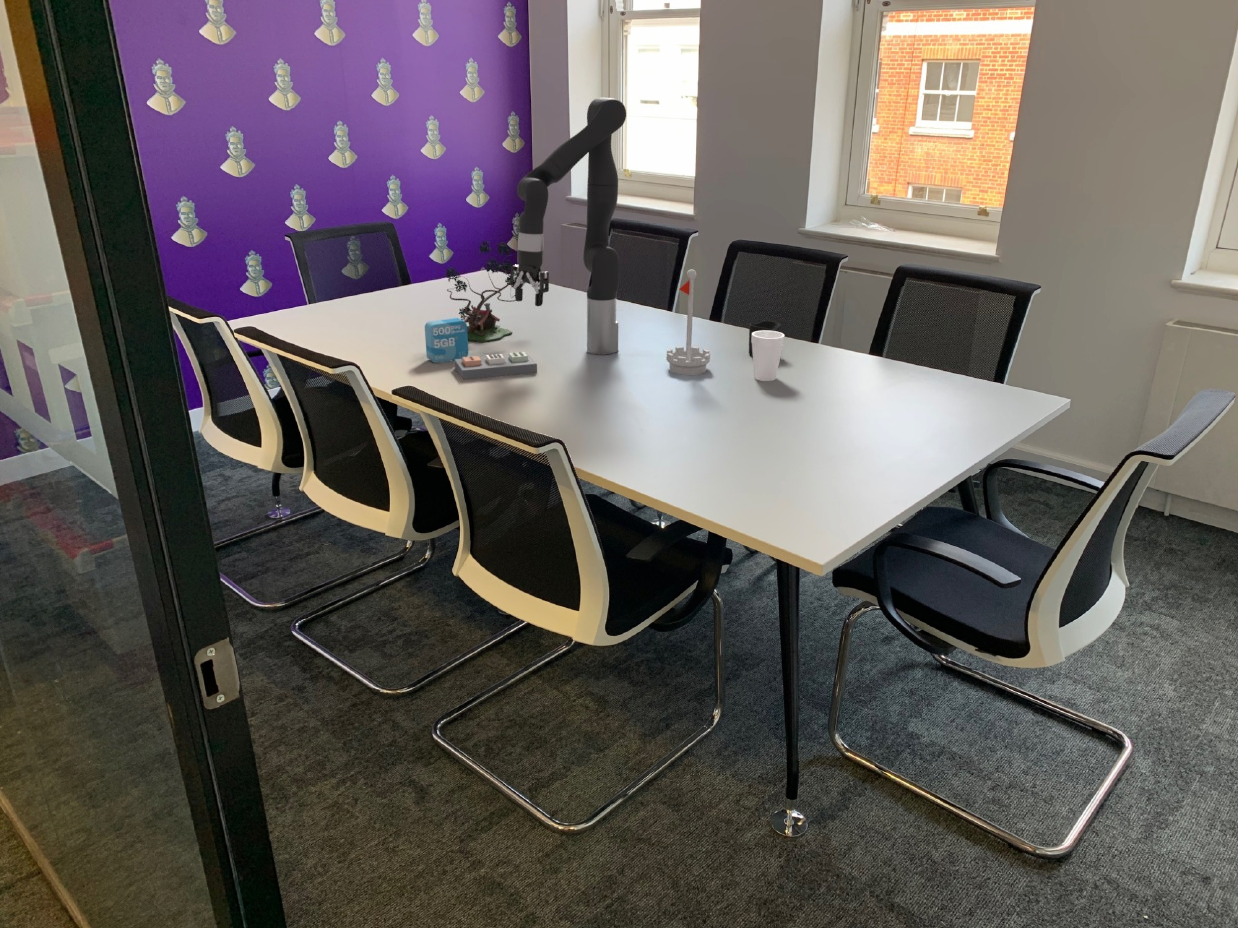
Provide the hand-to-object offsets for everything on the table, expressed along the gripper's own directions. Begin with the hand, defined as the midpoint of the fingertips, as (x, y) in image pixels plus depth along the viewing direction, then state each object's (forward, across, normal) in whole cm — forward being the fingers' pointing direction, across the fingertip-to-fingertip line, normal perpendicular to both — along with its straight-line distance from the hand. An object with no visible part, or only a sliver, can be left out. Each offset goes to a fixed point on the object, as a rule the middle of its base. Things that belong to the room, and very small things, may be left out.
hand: (528, 303), depth 283 cm
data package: (+20, +19, +15) cm, 31 cm away
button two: (+17, -4, +7) cm, 19 cm away
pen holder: (+14, -48, -57) cm, 76 cm away
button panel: (+19, -1, +13) cm, 23 cm away
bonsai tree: (+18, +30, -14) cm, 37 cm away
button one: (+18, +2, +19) cm, 26 cm away
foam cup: (+15, -62, -37) cm, 74 cm away
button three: (+17, -1, +13) cm, 22 cm away
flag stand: (+16, -41, -28) cm, 52 cm away
